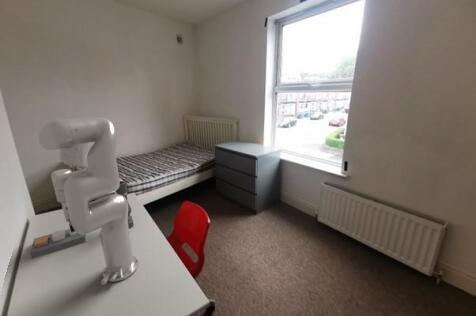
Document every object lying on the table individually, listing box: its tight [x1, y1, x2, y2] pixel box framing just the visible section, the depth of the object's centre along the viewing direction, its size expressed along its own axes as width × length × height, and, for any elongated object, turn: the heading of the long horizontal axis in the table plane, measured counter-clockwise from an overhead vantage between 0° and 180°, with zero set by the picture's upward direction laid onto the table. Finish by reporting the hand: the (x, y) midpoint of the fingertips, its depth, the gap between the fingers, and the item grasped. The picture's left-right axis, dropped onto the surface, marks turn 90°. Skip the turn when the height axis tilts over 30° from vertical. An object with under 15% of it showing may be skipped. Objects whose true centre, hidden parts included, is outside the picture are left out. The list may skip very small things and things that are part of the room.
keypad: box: [29, 228, 87, 260], centre depth 101 cm, size 19×12×3 cm, turn 127°
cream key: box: [51, 229, 66, 242], centre depth 100 cm, size 4×4×4 cm
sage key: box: [70, 230, 79, 237], centre depth 104 cm, size 4×4×4 cm
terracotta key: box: [34, 236, 49, 247], centre depth 97 cm, size 4×4×4 cm
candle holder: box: [115, 180, 135, 230], centre depth 111 cm, size 6×6×25 cm
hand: (75, 230), depth 104 cm, fingers closed
